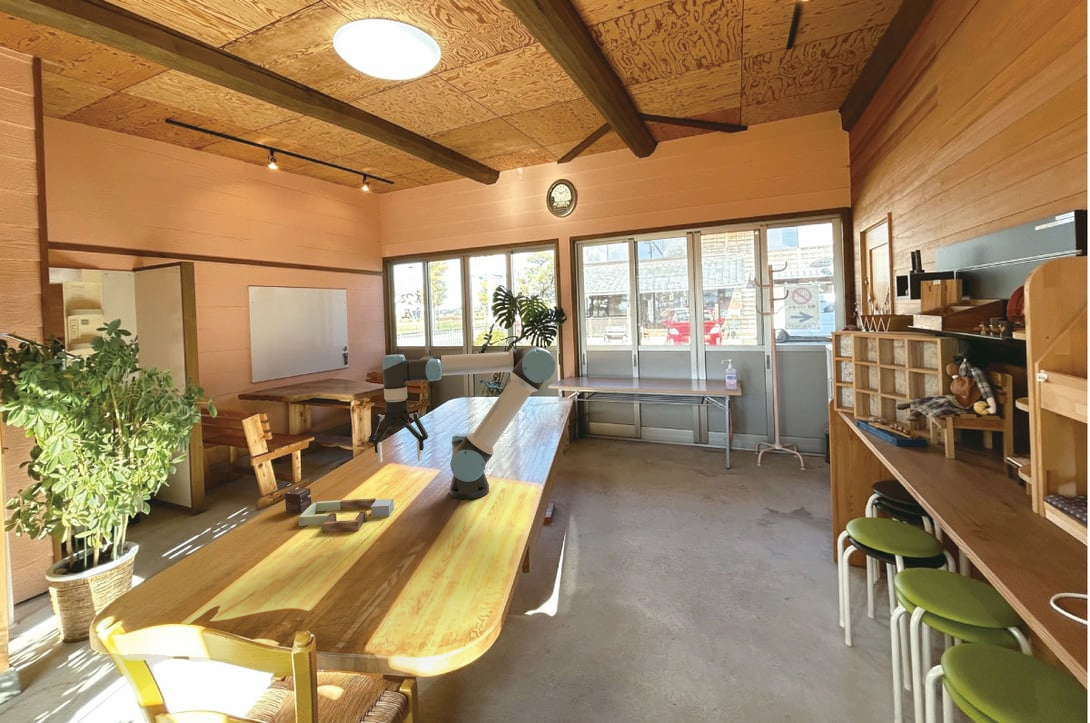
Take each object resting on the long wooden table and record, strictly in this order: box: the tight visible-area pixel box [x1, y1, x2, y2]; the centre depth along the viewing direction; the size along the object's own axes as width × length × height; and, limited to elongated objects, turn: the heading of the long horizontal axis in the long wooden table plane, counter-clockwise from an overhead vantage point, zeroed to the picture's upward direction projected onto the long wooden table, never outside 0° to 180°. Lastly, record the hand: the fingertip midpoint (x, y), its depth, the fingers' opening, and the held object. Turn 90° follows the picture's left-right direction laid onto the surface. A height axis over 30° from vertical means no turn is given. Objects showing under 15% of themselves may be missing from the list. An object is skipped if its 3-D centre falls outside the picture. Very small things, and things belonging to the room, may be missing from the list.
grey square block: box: [370, 498, 395, 518], centre depth 163 cm, size 6×6×4 cm
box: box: [284, 487, 313, 515], centre depth 167 cm, size 6×6×7 cm
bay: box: [298, 499, 342, 527], centre depth 161 cm, size 10×13×3 cm
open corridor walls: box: [321, 497, 377, 534], centre depth 159 cm, size 12×20×3 cm, turn 5°
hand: (400, 460), depth 162 cm, fingers open, 12 cm apart
